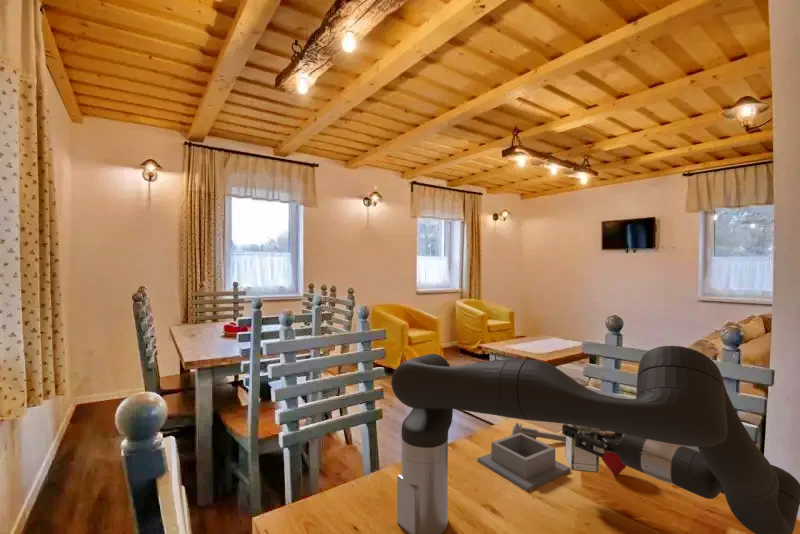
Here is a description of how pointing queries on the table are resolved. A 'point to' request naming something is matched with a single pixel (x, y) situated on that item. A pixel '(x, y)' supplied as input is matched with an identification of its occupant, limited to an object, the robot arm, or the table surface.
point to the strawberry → (613, 462)
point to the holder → (523, 461)
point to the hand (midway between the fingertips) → (574, 424)
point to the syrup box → (581, 454)
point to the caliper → (536, 433)
